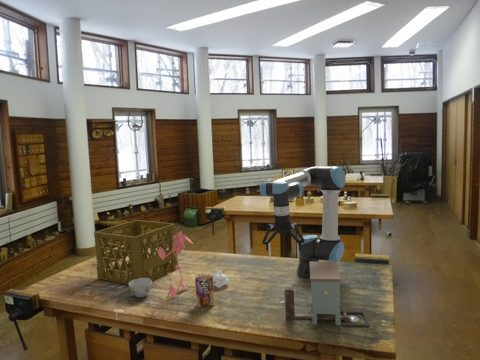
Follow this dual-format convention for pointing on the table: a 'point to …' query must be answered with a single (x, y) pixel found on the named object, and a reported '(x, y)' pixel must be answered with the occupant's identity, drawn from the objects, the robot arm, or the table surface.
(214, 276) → the crumpled paper ball
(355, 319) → the steel disc
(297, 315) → the pusher stick
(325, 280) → the cabinet
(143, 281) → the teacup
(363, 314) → the rubber bay
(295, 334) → the table surface
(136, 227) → the milk crate
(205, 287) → the candy box
